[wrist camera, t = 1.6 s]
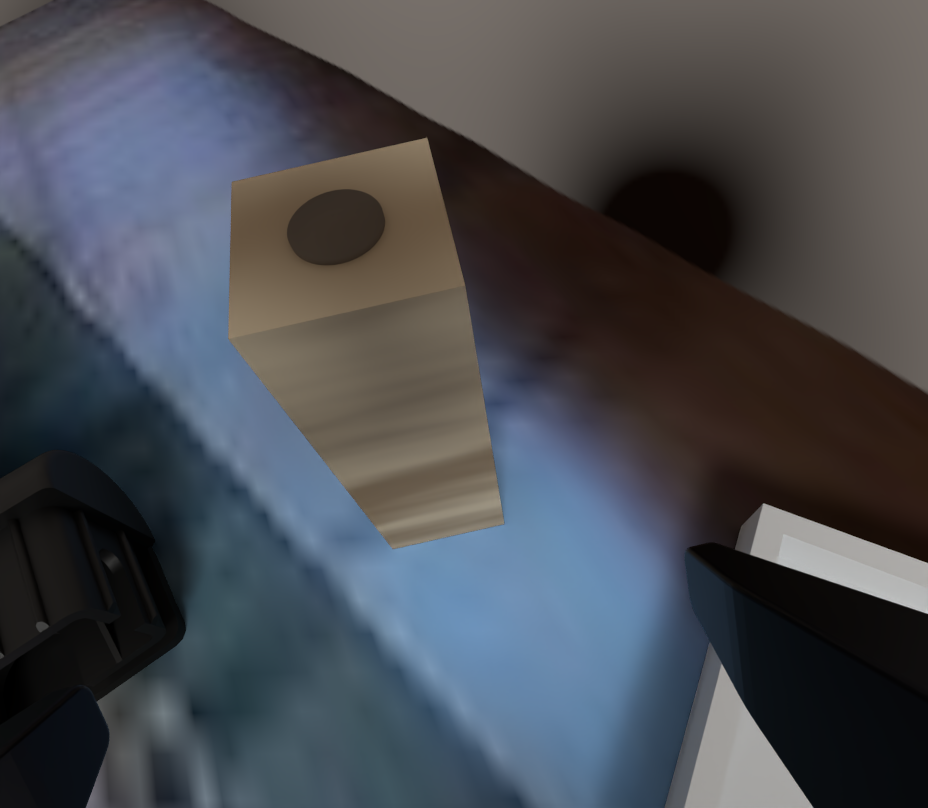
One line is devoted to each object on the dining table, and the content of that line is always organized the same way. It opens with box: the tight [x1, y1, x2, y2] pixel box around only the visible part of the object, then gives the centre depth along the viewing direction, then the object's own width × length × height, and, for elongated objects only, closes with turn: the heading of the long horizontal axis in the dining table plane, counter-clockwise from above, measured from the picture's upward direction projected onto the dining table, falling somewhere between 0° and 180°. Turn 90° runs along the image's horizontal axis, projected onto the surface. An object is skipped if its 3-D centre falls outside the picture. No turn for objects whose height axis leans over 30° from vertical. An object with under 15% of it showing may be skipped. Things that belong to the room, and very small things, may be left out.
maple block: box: [228, 138, 504, 549], centre depth 18 cm, size 4×4×14 cm
